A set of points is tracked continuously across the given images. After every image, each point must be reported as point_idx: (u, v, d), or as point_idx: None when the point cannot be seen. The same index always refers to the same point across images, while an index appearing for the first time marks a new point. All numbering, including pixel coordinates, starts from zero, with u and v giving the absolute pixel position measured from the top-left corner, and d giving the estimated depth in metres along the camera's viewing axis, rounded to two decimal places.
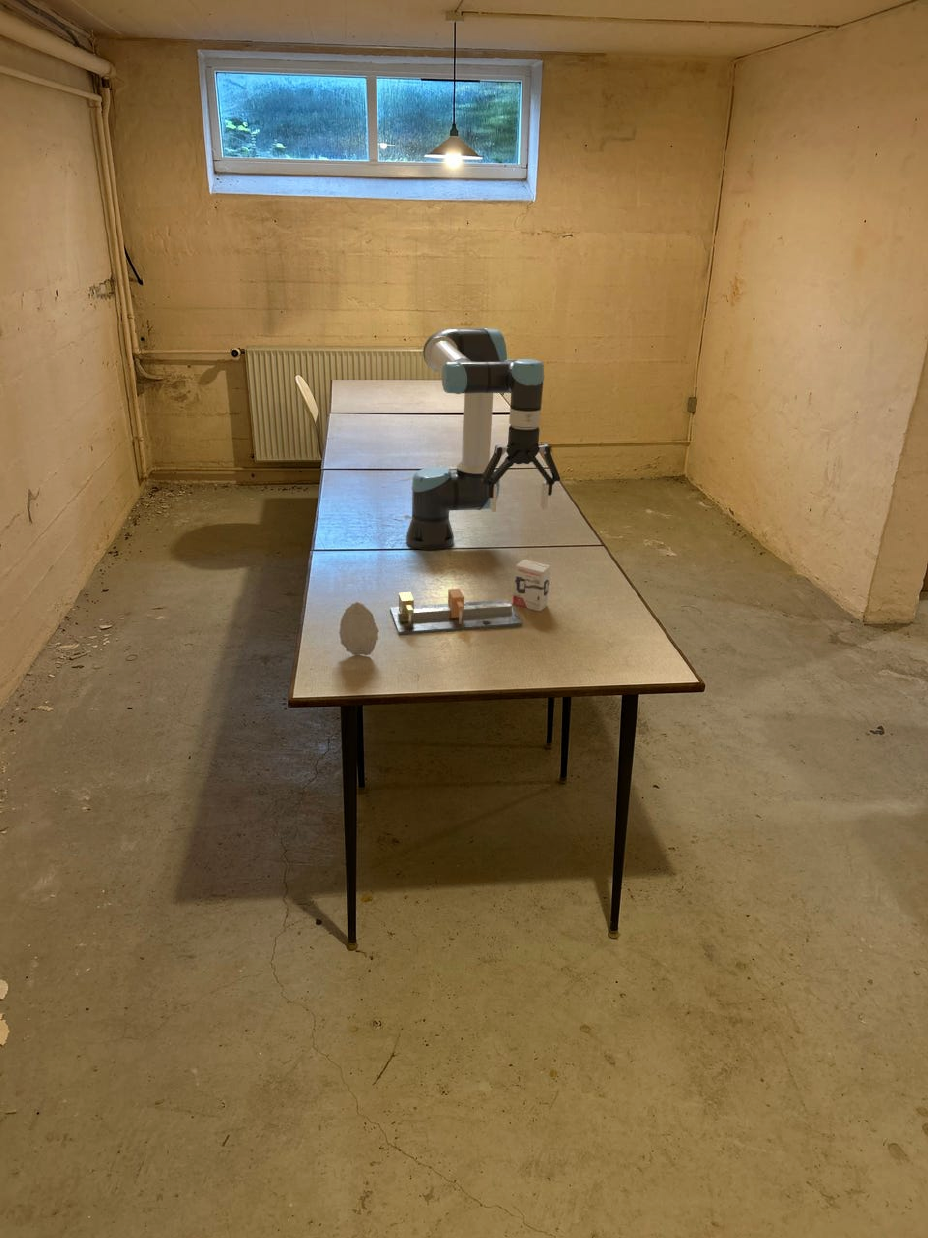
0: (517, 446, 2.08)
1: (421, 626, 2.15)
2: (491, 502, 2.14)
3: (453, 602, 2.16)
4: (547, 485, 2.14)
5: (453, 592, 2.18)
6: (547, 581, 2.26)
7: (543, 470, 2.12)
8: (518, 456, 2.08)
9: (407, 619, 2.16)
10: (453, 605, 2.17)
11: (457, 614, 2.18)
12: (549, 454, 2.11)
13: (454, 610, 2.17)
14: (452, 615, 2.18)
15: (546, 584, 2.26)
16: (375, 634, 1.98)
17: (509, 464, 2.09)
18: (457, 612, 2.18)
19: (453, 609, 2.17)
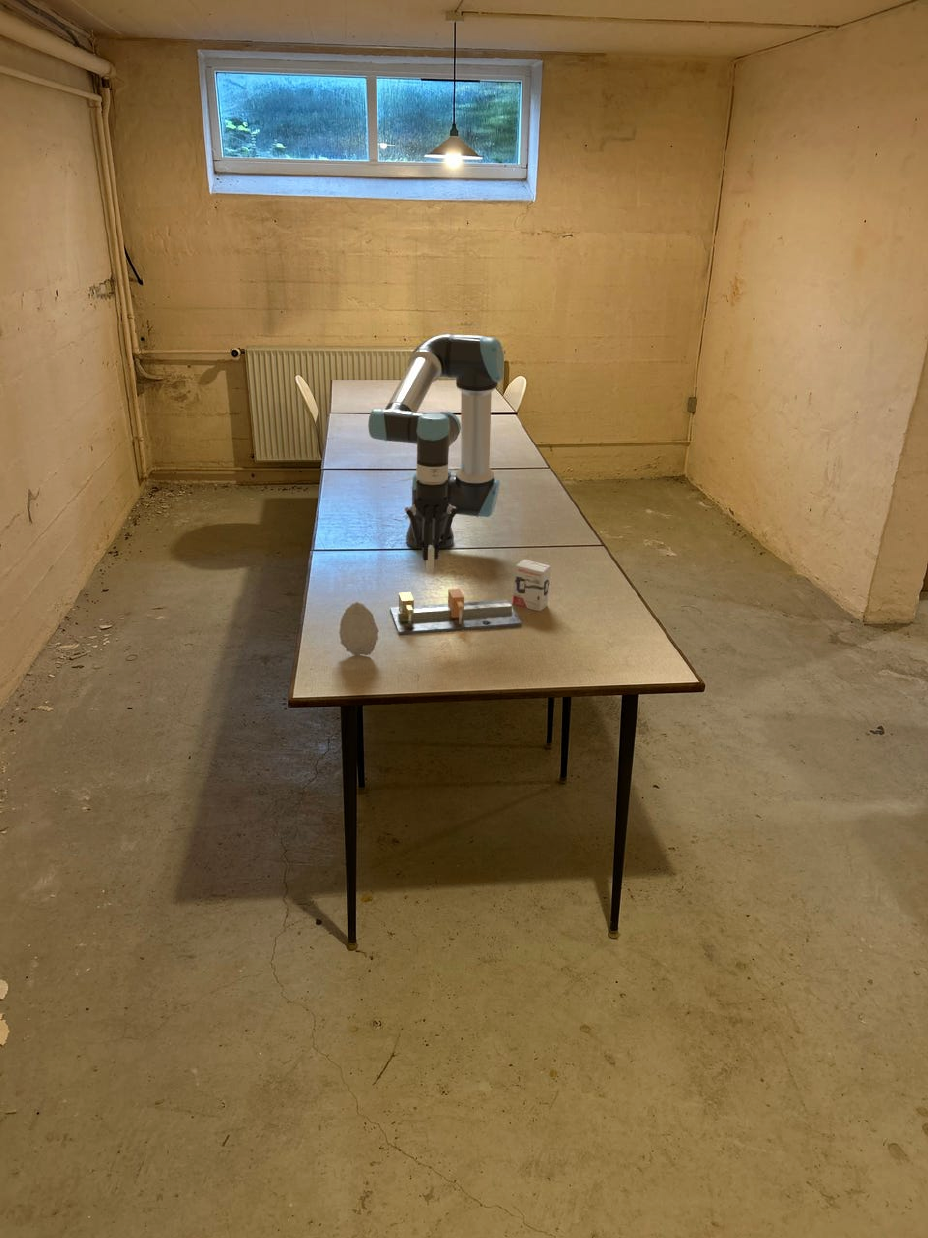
0: (421, 498, 2.03)
1: (421, 626, 2.15)
2: (426, 564, 2.13)
3: (453, 602, 2.16)
4: (432, 549, 2.09)
5: (453, 592, 2.18)
6: (547, 581, 2.26)
7: (437, 531, 2.08)
8: (428, 511, 2.04)
9: (407, 619, 2.16)
10: (453, 605, 2.17)
11: (457, 614, 2.18)
12: (452, 516, 2.07)
13: (454, 610, 2.17)
14: (452, 615, 2.18)
15: (546, 584, 2.26)
16: (375, 634, 1.98)
17: (426, 522, 2.06)
18: (457, 612, 2.18)
19: (453, 609, 2.17)
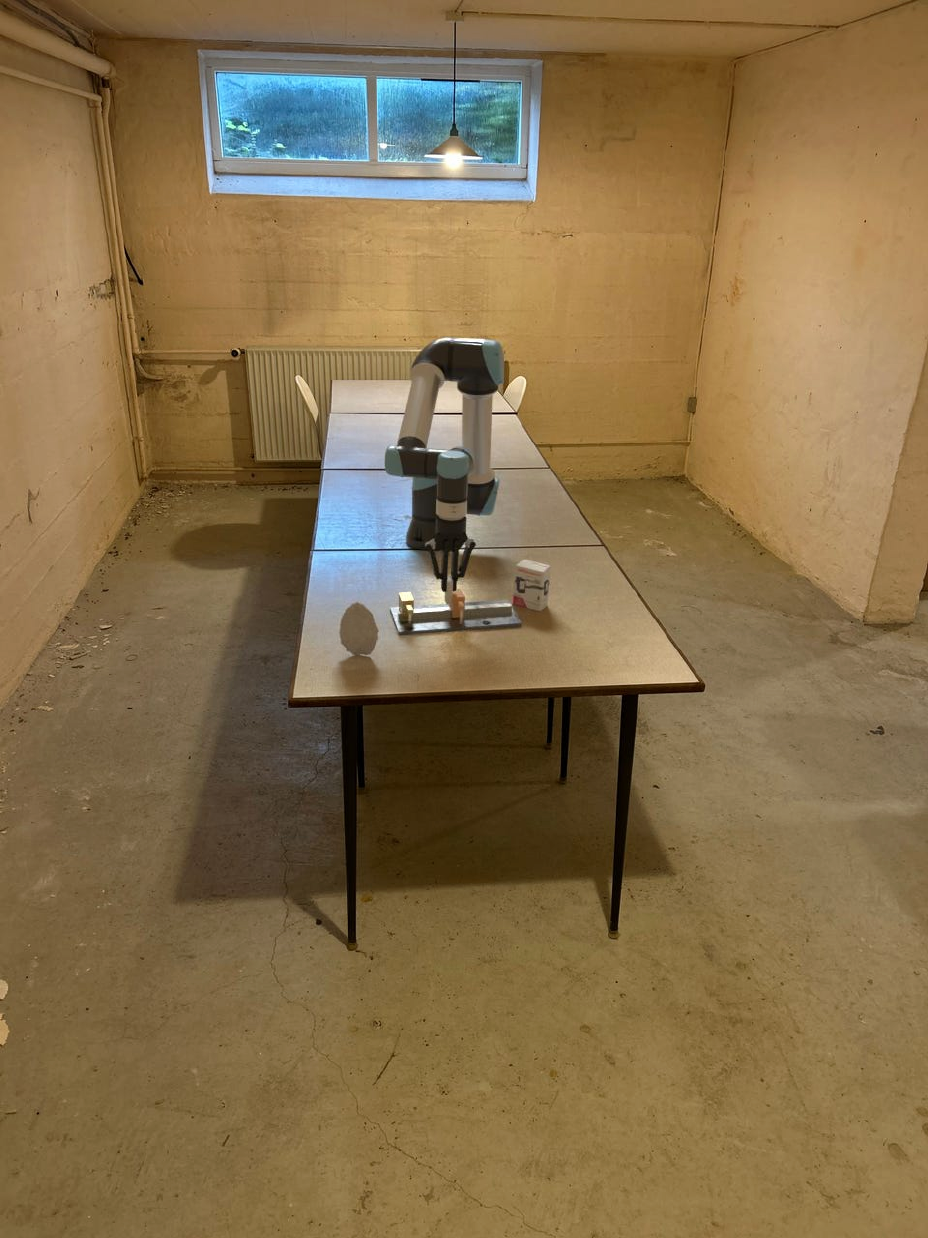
0: (440, 533, 2.08)
1: (421, 626, 2.15)
2: (445, 595, 2.18)
3: (454, 602, 2.16)
4: (451, 582, 2.15)
5: (454, 592, 2.18)
6: (547, 581, 2.26)
7: (456, 564, 2.13)
8: (447, 545, 2.09)
9: (407, 619, 2.16)
10: (454, 605, 2.17)
11: (458, 614, 2.19)
12: (470, 550, 2.12)
13: (455, 610, 2.17)
14: (453, 615, 2.18)
15: (546, 584, 2.26)
16: (375, 634, 1.98)
17: (445, 555, 2.11)
18: (458, 612, 2.18)
19: (454, 609, 2.17)
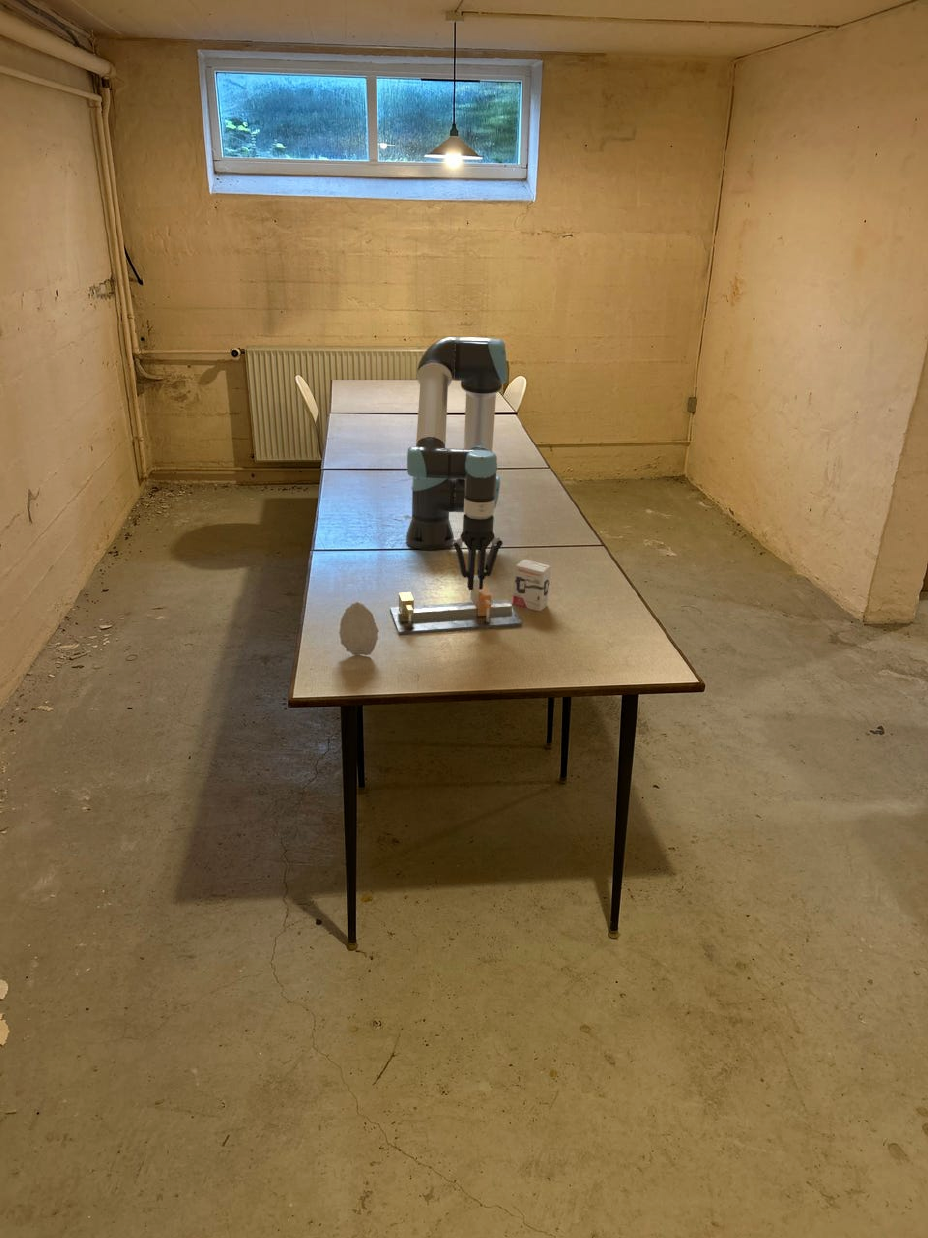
0: (468, 532, 2.10)
1: (421, 626, 2.15)
2: (471, 593, 2.20)
3: (480, 600, 2.18)
4: (478, 580, 2.16)
5: (480, 590, 2.20)
6: (547, 581, 2.26)
7: (483, 563, 2.15)
8: (474, 544, 2.11)
9: (407, 619, 2.16)
10: (480, 603, 2.18)
11: (484, 612, 2.20)
12: (497, 549, 2.14)
13: (481, 608, 2.19)
14: (479, 613, 2.20)
15: (546, 584, 2.26)
16: (375, 634, 1.98)
17: (473, 554, 2.12)
18: (484, 610, 2.20)
19: (480, 607, 2.19)
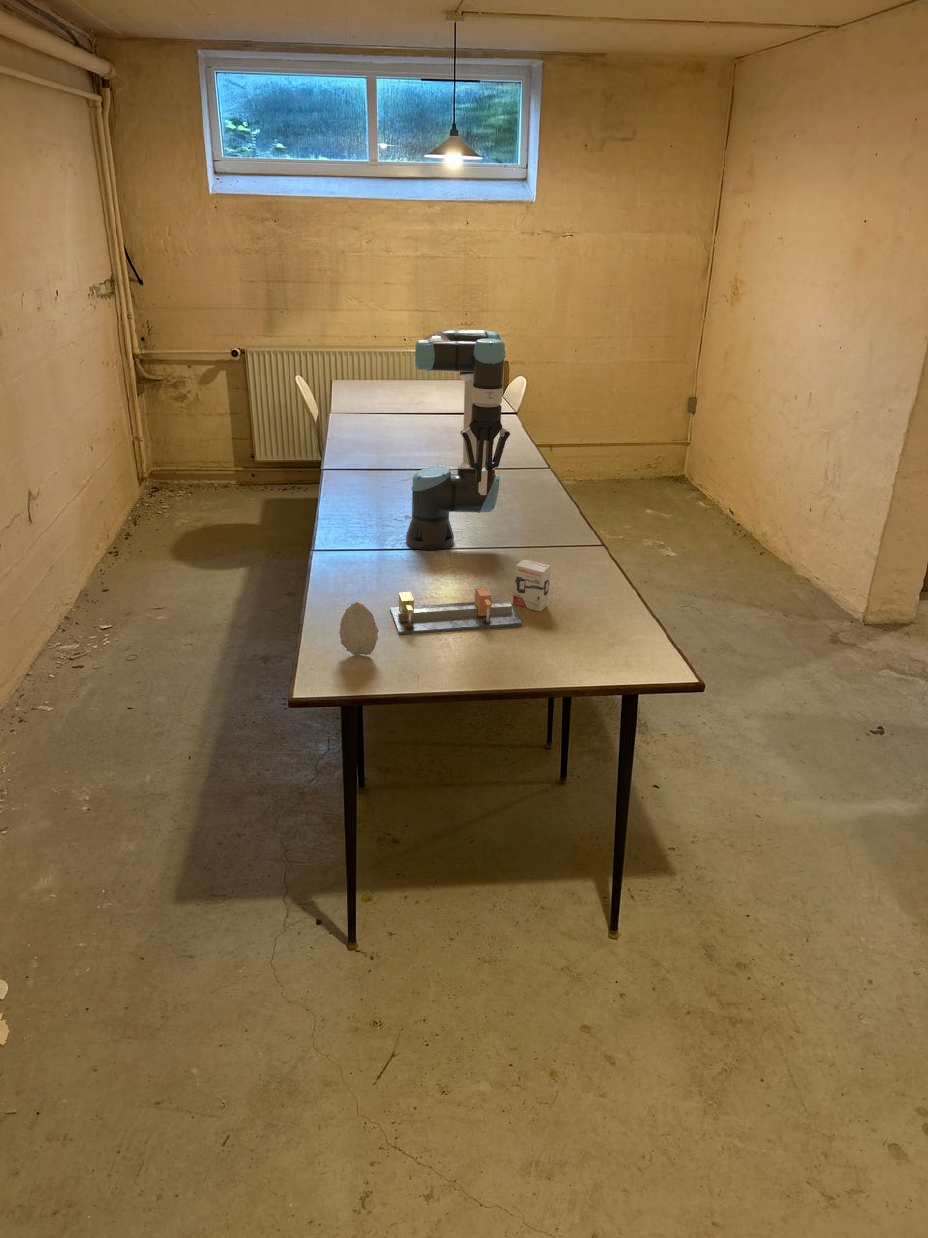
0: (476, 421, 2.14)
1: (421, 626, 2.15)
2: (479, 486, 2.24)
3: (480, 600, 2.18)
4: (486, 471, 2.21)
5: (480, 590, 2.20)
6: (547, 581, 2.26)
7: (491, 453, 2.19)
8: (483, 433, 2.15)
9: (407, 619, 2.16)
10: (480, 603, 2.18)
11: (484, 612, 2.20)
12: (505, 439, 2.18)
13: (481, 608, 2.19)
14: (479, 613, 2.20)
15: (546, 584, 2.26)
16: (375, 634, 1.98)
17: (481, 444, 2.17)
18: (484, 610, 2.20)
19: (480, 607, 2.19)
